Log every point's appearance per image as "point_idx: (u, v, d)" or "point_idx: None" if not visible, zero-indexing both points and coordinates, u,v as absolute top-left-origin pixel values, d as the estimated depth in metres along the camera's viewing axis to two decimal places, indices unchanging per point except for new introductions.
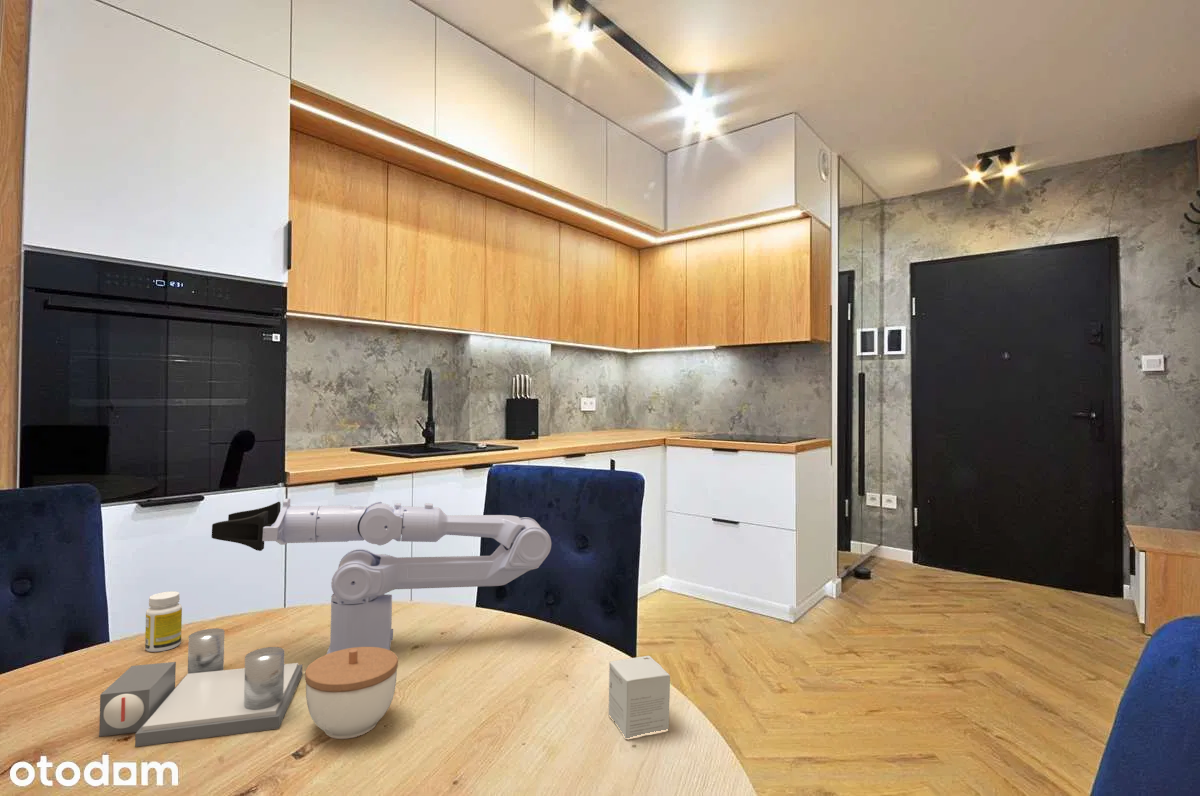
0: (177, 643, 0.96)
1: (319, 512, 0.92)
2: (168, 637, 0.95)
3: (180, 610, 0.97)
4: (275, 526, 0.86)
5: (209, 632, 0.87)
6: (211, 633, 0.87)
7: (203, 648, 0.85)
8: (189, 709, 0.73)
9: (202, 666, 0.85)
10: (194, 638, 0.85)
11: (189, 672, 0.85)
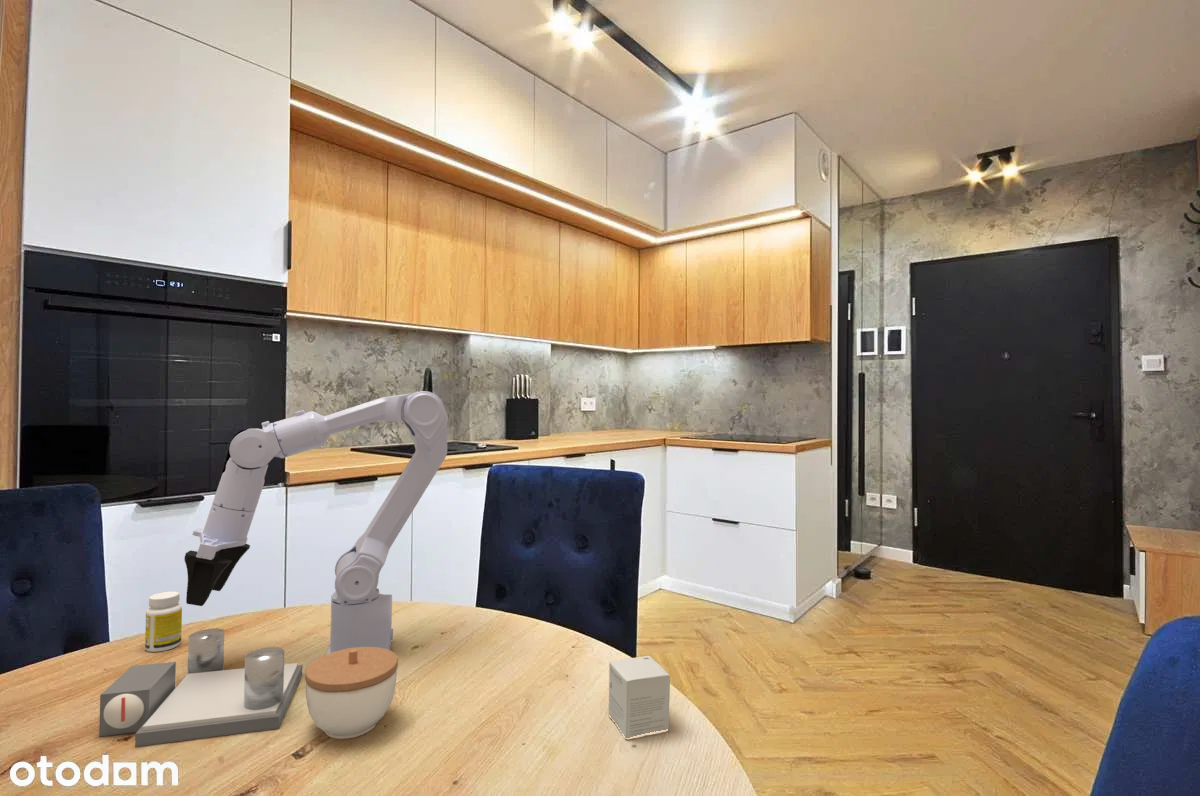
0: (177, 643, 0.96)
1: (216, 503, 0.86)
2: (168, 637, 0.95)
3: (180, 610, 0.97)
4: None
5: (209, 632, 0.87)
6: (211, 633, 0.87)
7: (203, 648, 0.85)
8: (189, 709, 0.73)
9: (202, 666, 0.85)
10: (194, 638, 0.85)
11: (189, 672, 0.85)
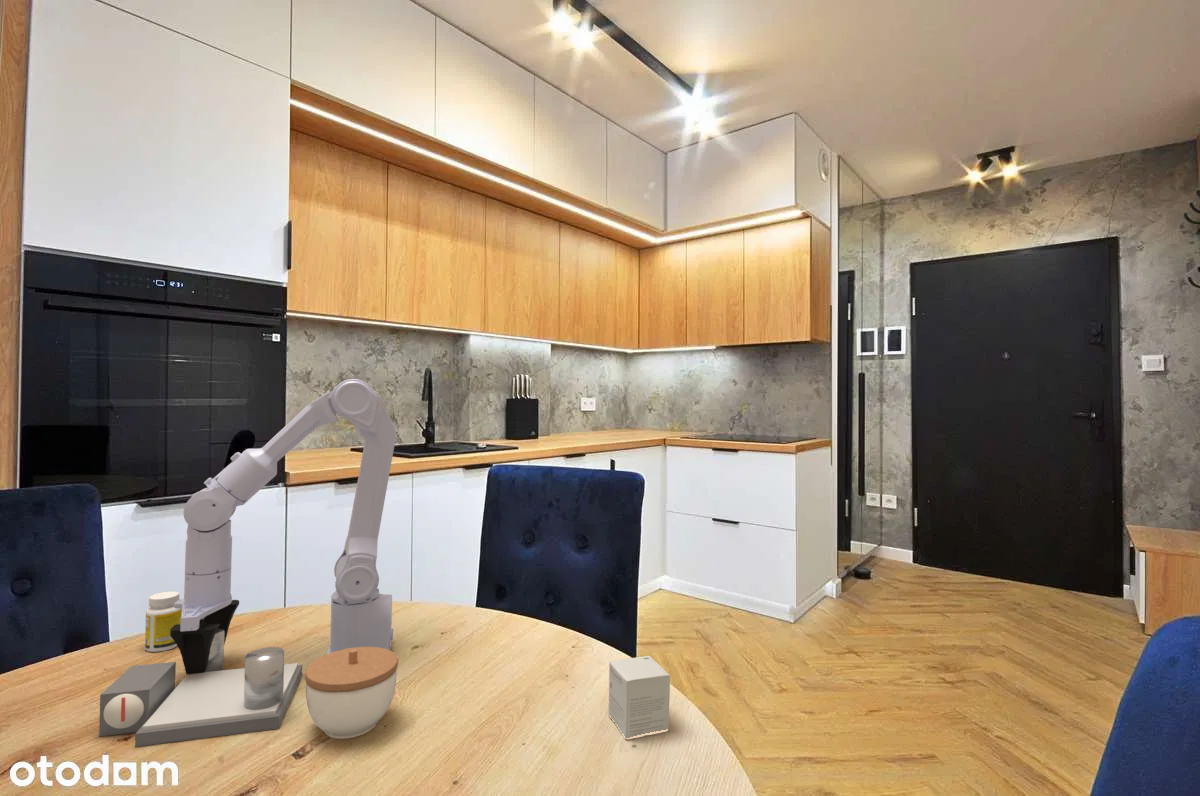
0: None
1: (188, 572, 0.84)
2: (168, 637, 0.95)
3: (180, 610, 0.97)
4: None
5: None
6: None
7: None
8: (189, 709, 0.73)
9: None
10: None
11: None
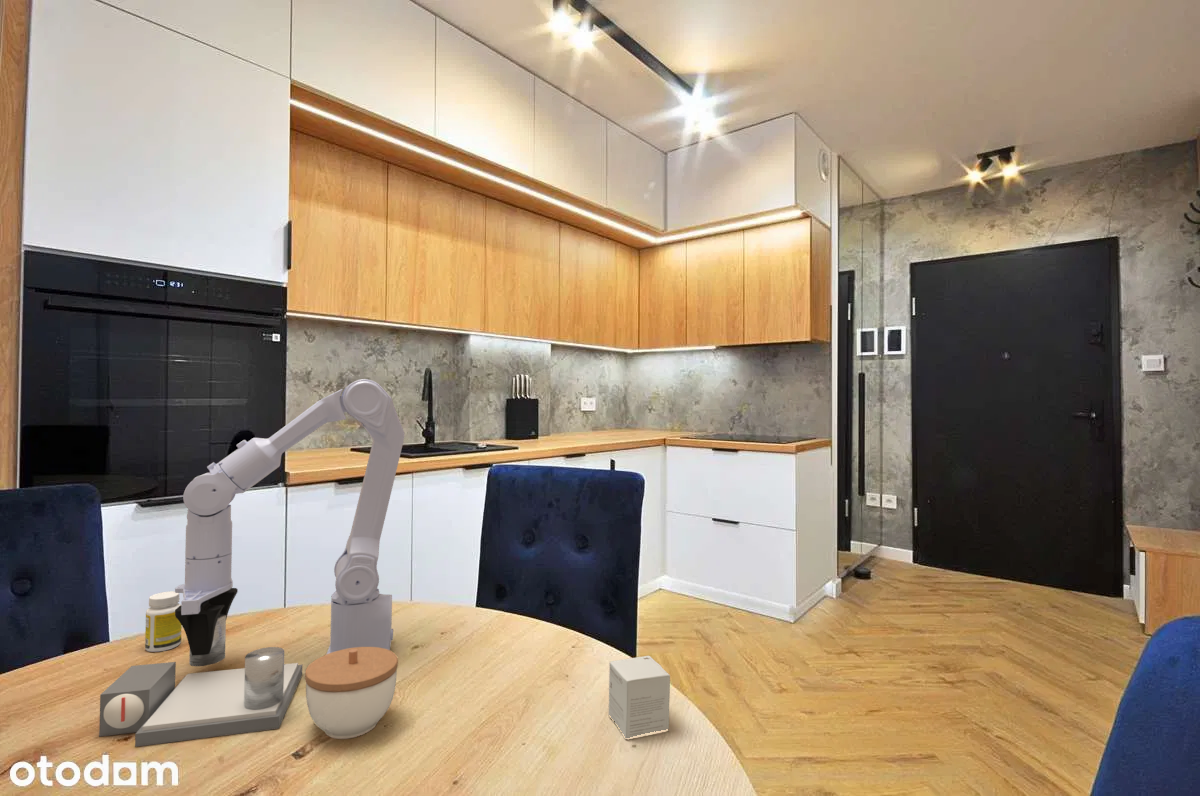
0: (177, 643, 0.96)
1: (188, 557, 0.84)
2: (168, 637, 0.95)
3: None
4: None
5: None
6: None
7: None
8: (189, 709, 0.73)
9: None
10: None
11: (191, 657, 0.85)
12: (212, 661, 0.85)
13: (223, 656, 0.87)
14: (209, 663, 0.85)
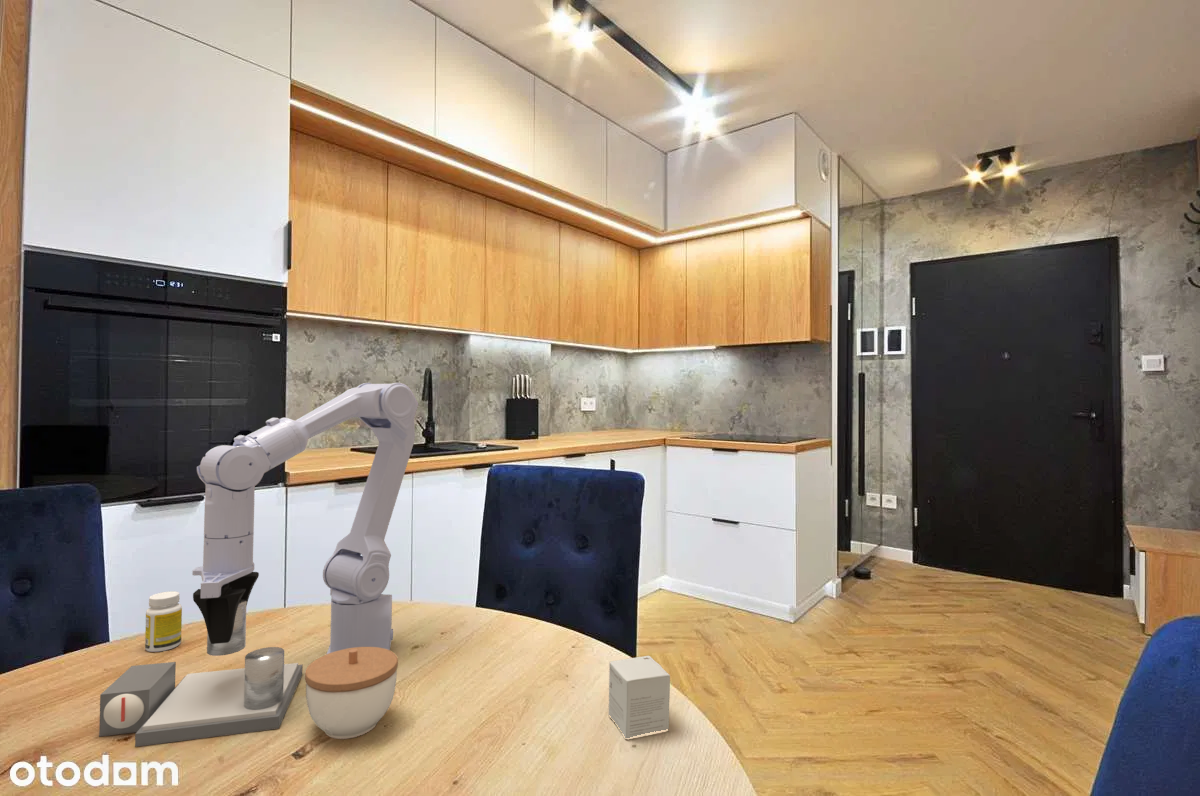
0: (177, 643, 0.96)
1: (217, 536, 0.77)
2: (168, 637, 0.95)
3: (180, 610, 0.97)
4: None
5: None
6: None
7: None
8: (189, 709, 0.73)
9: None
10: None
11: (209, 645, 0.78)
12: (232, 650, 0.78)
13: (243, 645, 0.80)
14: (229, 652, 0.78)
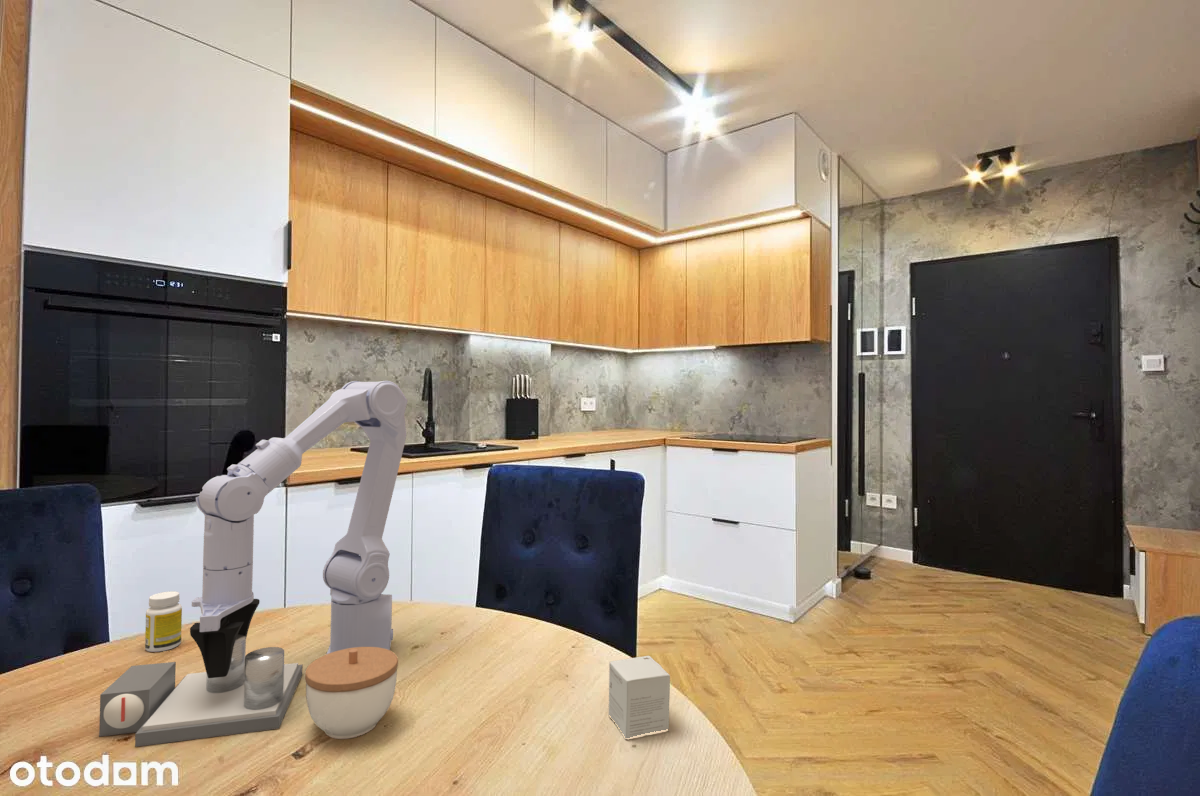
0: (177, 643, 0.96)
1: (217, 568, 0.77)
2: (168, 637, 0.95)
3: (180, 610, 0.97)
4: None
5: None
6: None
7: None
8: (189, 709, 0.73)
9: None
10: None
11: (208, 682, 0.77)
12: (231, 687, 0.78)
13: (243, 681, 0.80)
14: (228, 689, 0.78)
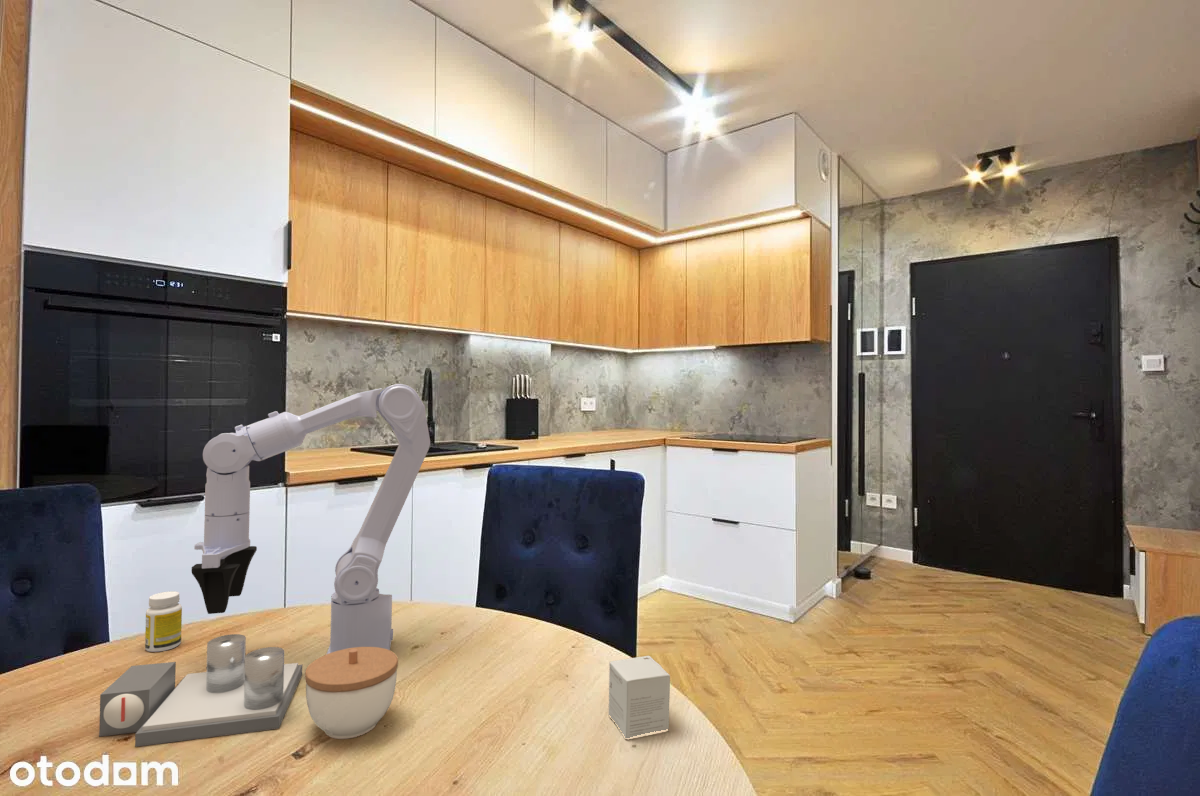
0: (177, 643, 0.96)
1: (207, 513, 0.86)
2: (168, 637, 0.95)
3: (180, 610, 0.97)
4: None
5: (229, 638, 0.80)
6: (231, 639, 0.80)
7: (224, 656, 0.77)
8: (189, 709, 0.73)
9: (222, 676, 0.77)
10: (213, 645, 0.78)
11: (208, 682, 0.77)
12: (231, 687, 0.78)
13: (243, 681, 0.80)
14: (228, 689, 0.78)
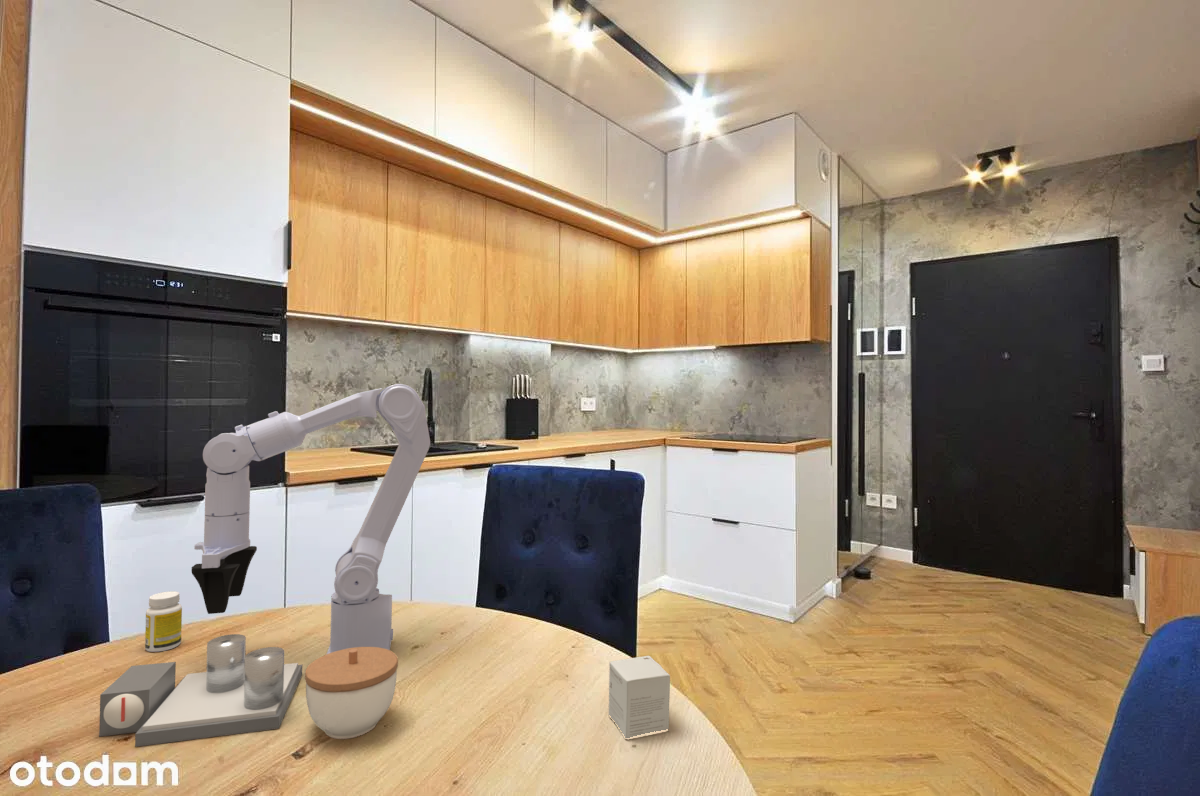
0: (177, 643, 0.96)
1: (207, 513, 0.86)
2: (168, 637, 0.95)
3: (180, 610, 0.97)
4: None
5: (229, 638, 0.80)
6: (231, 639, 0.80)
7: (224, 656, 0.77)
8: (189, 709, 0.73)
9: (222, 676, 0.77)
10: (213, 645, 0.78)
11: (208, 682, 0.77)
12: (231, 687, 0.78)
13: (243, 681, 0.80)
14: (228, 689, 0.78)
